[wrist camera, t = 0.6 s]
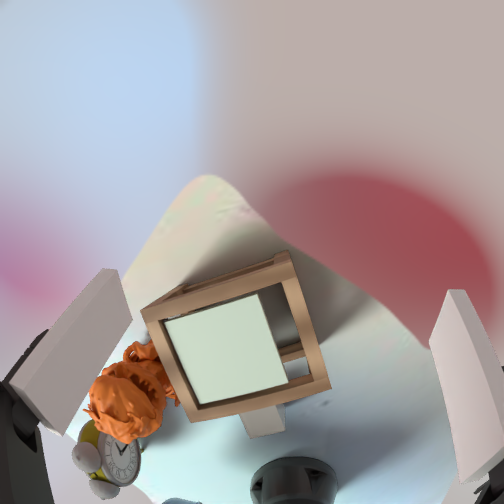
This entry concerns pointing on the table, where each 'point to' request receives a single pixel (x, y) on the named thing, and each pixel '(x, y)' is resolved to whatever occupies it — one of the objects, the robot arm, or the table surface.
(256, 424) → the grey block
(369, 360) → the table surface
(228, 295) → the frame
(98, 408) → the orange sculpture
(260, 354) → the hatch
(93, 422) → the alarm clock
